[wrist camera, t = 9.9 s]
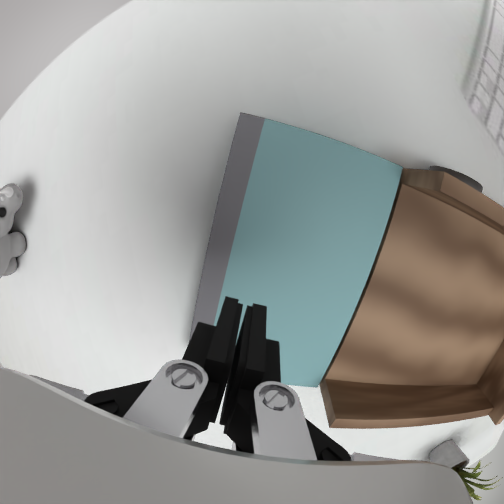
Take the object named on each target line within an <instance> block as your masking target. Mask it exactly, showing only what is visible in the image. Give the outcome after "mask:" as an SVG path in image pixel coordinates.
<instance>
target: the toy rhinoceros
mask: <svg viewBox="0 0 504 504" xmlns="http://www.w3.org/2000/svg"><path fill="white" fill-rule="evenodd" d="M22 201H23V193H22V190H21V189H20V188H19V187H18V186H17V185H15V184H12V183H10V184H7V185H5V186H4V187H3V188H2V189H0V278H1V277H2V276H7V275H10V274H12V273H14V272H15V271H16V269H17V262H16V259H15V257H17V256H20V255H22V254H23V253H24V251H25V248H26V243H25V238H24V236H23V235H22V234H21V233H20V232H13V233H11V234H8V232H9V231H10V229H11V228H12V225H13V220H14V214H15V212H16V211H17V210H18V209H19V208H20V207H21V205H22Z"/></svg>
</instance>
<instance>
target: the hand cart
mask: <svg viewBox="0 0 504 504" xmlns="http://www.w3.org/2000/svg"><path fill="white" fill-rule="evenodd" d="M482 188H483V187H482V185H481V184H480V183H478V182H477V181H475V180H474V179H472V178H470V177H468V176H466V175H464V174H462V173H459V172H457V171H454V170H451V169H448V168H444V167H440V166H430V167H429V170H419V169H405V168H403V169H402V173H401V177H400V181H399V184H398V188H397V192H396V195H395V199H394V202H393V206H392V209H391V212H390V215H389V219H388V222H387V225H386V228H385V231H384V234H383V237H382V240H381V243H380V246H379V249H378V252H377V254H376V257H375V260H374V263H373V265H372V268H371V271H370V273H369V276H368V279H367V281H366V284H365V286H364V289H363V291H362V294H361V296H360V299H359V301H358V303H357V306H356V308H355V310H354V313H353V315H352V317H351V320H350V322H349V324H348V326H347V329H346V331H345V333H344V335H343V337H342V339H341V342H340V344H339V346H338V348H337V350H336V352H335V354H334V356H333V358H332V360H331V362H330V364H329V366H328V368H327V370H326V372H325V374H324V376H323V378H322V380H321V381H320V383H319V385H320V389H321V393H322V397H323V401H324V406H325V410H326V414H327V419H328V423H329V428H359V429H366V428H398V427H412V426H423V425H432V424H440V423H448V422H454V421H460V420H466V419H471V418H476V417H481V416H486V415H489V416H490V418H491V419H492V421H493V422H494V424H495V425H497V424H500V423H501V422H502V420H503V419H504V208H503V207H502V206H500V205H499V204H497V203H496V202H494V201H493V200H491V199H490V198H488V197H487V196H485V195H484V194H482Z"/></svg>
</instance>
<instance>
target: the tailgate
mask: <svg viewBox="0 0 504 504" xmlns="http://www.w3.org/2000/svg"><path fill="white" fill-rule="evenodd" d="M402 169H403V167H402V166H399V165H397V164H395V163H393V162H390V161H388V160H386V159H383V158H381V157H379V156H376V155H374V154H371V153H369V152H366V151H364V150H361V149H359V148H356V147H353V146H351V145H348V144H345V143H343V142H340V141H337V140H334V139H331V138H328V137H326V136H323V135H320V134H317V133H313V132H310V131H307V130H304V129H301V128H297V127H294V126H291V125H287V124H284V123H280V122H277V121H273V120H269V119H265V118H262V117H258V116H254V115H249V114H245V113H241V112H240V116H239V120H238V123H237V127H236V131H235V135H234V138H233V142H232V146H231V150H230V154H229V158H228V162H227V166H226V170H225V174H224V178H223V182H222V186H221V190H220V194H219V199H218V203H217V207H216V212H215V216H214V220H213V225H212V229H211V234H210V238H209V243H208V248H207V252H206V257H205V262H204V267H203V271H202V276H201V281H200V286H199V292H198V297H197V302H196V307H195V312H194V318H193V323H192V329H191V335H190V340H191V337H192V335H193V333H194V330H195V328H196V326H197V323H198V322H202V323H206V324H210V325H213V326H216V325H217V321H218V318H219V315H220V312H221V309H222V306H223V303H224V299H225V296H228V297H231V298H235V299H239V301H238V303H241V304H243V308H242V314H241V319H240V324H239V330H238V335H237V339H238V336H239V332H240V329H241V325H242V322H243V318H244V315H245V311H246V308H247V305H249V306H252V305H253V303H255V304H259V305H263V306H267V320H266V339H271V340H275V341H279V344H280V370H281V383H283V384H285V385H295V386H306V387H318V385H319V383H320V381H321V380H322V378H323V376H324V374H325V372H326V370H327V368H328V366H329V364H330V362H331V360H332V358H333V356H334V354H335V352H336V350H337V348H338V346H339V344H340V342H341V339H342V337H343V335H344V333H345V331H346V329H347V326H348V324H349V322H350V320H351V317H352V315H353V313H354V310H355V308H356V306H357V303H358V301H359V299H360V296H361V294H362V291H363V289H364V286H365V284H366V281H367V279H368V276H369V273H370V271H371V268H372V265H373V263H374V260H375V257H376V254H377V252H378V249H379V246H380V243H381V240H382V237H383V234H384V231H385V228H386V225H387V222H388V219H389V215H390V212H391V209H392V206H393V202H394V199H395V195H396V192H397V188H398V184H399V181H400V177H401V173H402ZM190 340H189V342H190ZM236 343H237V341H236Z"/></svg>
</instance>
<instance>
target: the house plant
mask: <svg viewBox="0 0 504 504" xmlns="http://www.w3.org/2000/svg"><path fill="white" fill-rule="evenodd" d="M429 457H430V461H431V462H433V463H438V464H442V465H444V466H447V467H449V468H451V469H453V470H454V471H455V472H456V473H457V474H458V475H459V476H460V478H461V479H462V481H463V483H464V484H465V486H466V488H467V490H468V492H469V495H470V496H471V497H473V498H474V499H476V500H480V499H479V498H481V497H479V496H478V495H475V494H474V489H473V488H471V487H470V486H469V485H468V484H467V483H469V484H471V485H474V486H476V487H478V488H481V489H484V490H490V489H493V488H490V489H489V488H485V487H486V486H490V485H492V484H489V485H482V484H477V483H474V482H471V481H469V480H467V479H465V478H466V477H468V478H473V479H478V478H476V477H478V476H479V475H480V474H481V472H482V471H481V472H479V473H473V472H475V471H476V470H477V469H480V468H479V467H480V462H479V463H478V465H477V466H476V468H465V467H466V466H467V464H468V463H469V459H468V458H467V457H466V455H465V454H464V453H463V452H462V451H461V449H460V448H459V447H458V446H457V445H456V444H455V442H454V441H453V440H448V441H445V442H443V443H442V444H440V445H439V446H437V447H436V448H435V449H433V450H432V451H431V453H430V455H429ZM463 468H464V469H474V471H473V472H472V473H468V472H466V471H464V470H462V469H463ZM496 477H497V476H496ZM478 480H480V481H489V480H481V479H478ZM490 480H492V479H490ZM498 481H499V480H498ZM495 483H496V482H495ZM493 484H494V483H493Z"/></svg>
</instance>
